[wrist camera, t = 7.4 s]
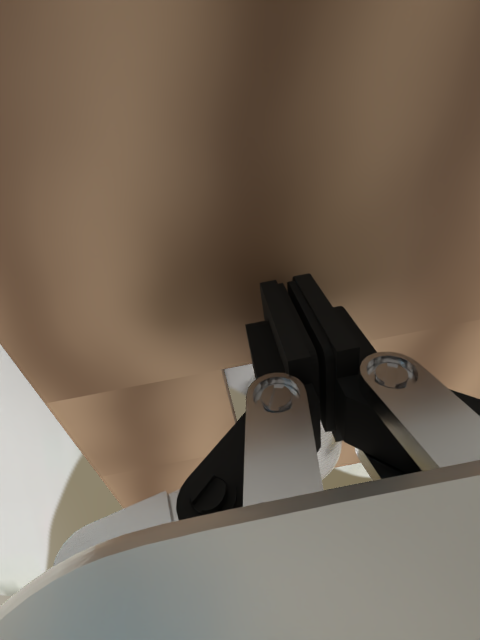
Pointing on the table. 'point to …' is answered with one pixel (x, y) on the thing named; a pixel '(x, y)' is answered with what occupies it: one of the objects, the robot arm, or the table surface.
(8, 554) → the table surface
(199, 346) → the walnut board
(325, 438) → the steel ball
